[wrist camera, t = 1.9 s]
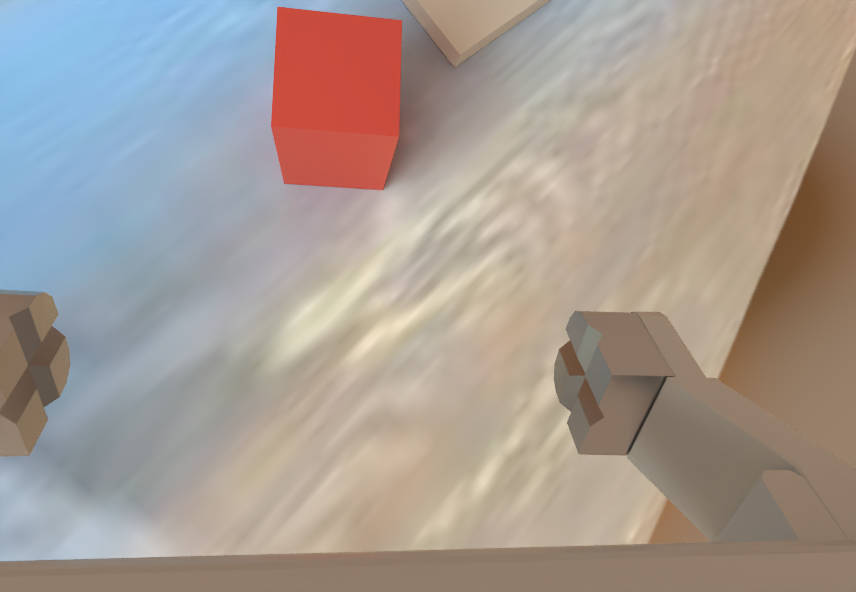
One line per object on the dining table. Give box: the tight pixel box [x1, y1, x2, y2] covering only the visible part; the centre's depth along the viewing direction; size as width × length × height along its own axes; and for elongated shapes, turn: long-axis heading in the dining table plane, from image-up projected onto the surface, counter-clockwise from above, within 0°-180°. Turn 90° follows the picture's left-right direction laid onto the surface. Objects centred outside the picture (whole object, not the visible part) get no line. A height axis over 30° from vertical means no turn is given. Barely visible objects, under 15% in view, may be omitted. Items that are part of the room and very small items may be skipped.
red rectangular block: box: [271, 7, 402, 190], centre depth 31 cm, size 6×6×8 cm
